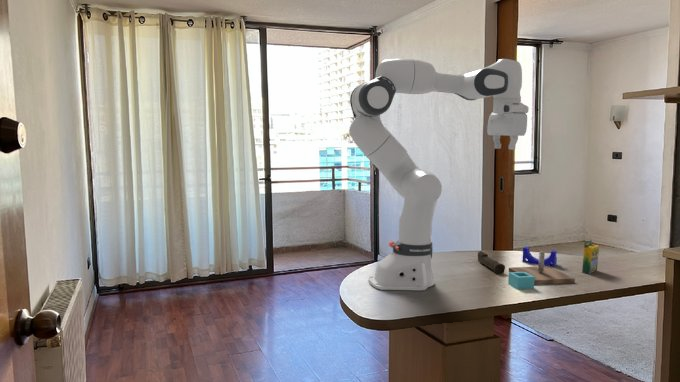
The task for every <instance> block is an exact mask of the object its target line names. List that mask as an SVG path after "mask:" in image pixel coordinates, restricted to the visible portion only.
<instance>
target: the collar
mask: <svg viewBox="0 0 680 382" xmlns="http://www.w3.org/2000/svg"><path fill="white" fill-rule="evenodd" d="M534 280H535V277H534V276H532V275H530V274H528V273H526V272H509V271H508V280H507V284H508V285H510V286H511V287H513V288H515V289H516V290H527V289H529V290H530V289H531V290H532V289H533V290H534V289H535V284H534Z"/></svg>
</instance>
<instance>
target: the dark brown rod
mask: <svg viewBox="0 0 680 382" xmlns="http://www.w3.org/2000/svg"><path fill="white" fill-rule="evenodd" d="M477 261H478V263H479V262H480V263H479V264H480V265H482V264H484V266H486V267H487V268H489V269H490V270H492V271H493V272H494V273H495V274H496V275H500V274H501V275H502V274H504V273H505V269H506V266H505V264H503V263H499V261H497V260H494V259H492V258H491V257H489V255H488V253H486V252H484V251H478V253H477Z"/></svg>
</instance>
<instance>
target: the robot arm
mask: <svg viewBox="0 0 680 382" xmlns="http://www.w3.org/2000/svg"><path fill="white" fill-rule="evenodd" d="M522 84H523V70H522V65H521V63H520V62H519V61H518V60H515V59H512V58H500V59H497V61H496V62H494V63H493V64H491V65H487V66H486V67H483V68H480V69H476V70H473V71H467V72H464V73H462V74H458V75H457V74H451V73H450V74H448V73H442V72H437V71H436V69H435V67H434V66H433V64H432V63H431V62H429V61H424V60H419V59H412V58H411V59H410V58H389V59H384V60H382V61H380V62H379V64H378V65H377V67H376V70H375V76H374V79H371V80H369V81H366V82H365V81H364V82H363V83H361V84H358V86H356V87H355V88H354V89H353V90H352V92H351V93H350V98H349V103H350V108H351V110H352V111H351V112H352V114H353V115H352V116H353V118H354V120H353V121H352V122H351V124H350V126H349V130H348V132H349V136H350V137H351V139H352V141H353V142H354V144H355V145H356V146H357V147H358V149H359V150H360V151H361V153H363V155H364V156H365V157H366V158H367V159H368V160H369V161H370V162H371V163H372V164H373V165H374V166H375V168H376V169H378V171H380V172H381V174H382V175H383V176H384V178H385V179H386V180H387V181H388V183H389V184H390V185H391V186H392V188H393V189H394V190H395V191H396V192H397V193H398V194H399V195H400V196H401V197H402V198H403V199H404V203H403V207H402V212H401V214H400V216H399V218H398V219H399V220H398V222H399V223H398V240H397V241H396V242H394V241H393V240H389V242H388V247H390V248H392V252H391V253H389V254H388V255H386V257H384V258H383V259H381V260H380V261H378V262H377V265H376V267H375V271H374V272H375V274H370V275H369V277H368V283H369V284H370V285H371V287H373V288H375V289H377V290H381V291H382V290H383V291H426V290H427V289H428V288H430V287H433V286H434V285H435V278H434V274H433V266H432V258H433V252H434V249H433V242H432V231H433V230H432V229H433V219H434V214H435V210H436V205H437V202H438V199H439V198H440V197H441V194H442V192H443V190H442V186H443V185H442V182H441V181H440V179H439V178H438V177H437V176H436V175H435V174H434V173H433V172H431V171H428V170H424V169H421V168H420V167H419V166H417V165H416V163H415V162H414V161H413V159H412V158H411V156H410V154H409V153H408V150H407V149H406V148H405V147H404V146H403V144H401V142H399V140H398V139H397V138H396V137H395V136H394V135H393V134H392V133H391V132H390V131H389V130H388V128H387V127H385V126H384V124H383V122H382V120H381V115H383V114H384V113H386V112H387V111H388V110H389V109H390V106H392V103H393V101H394V97H395V95H396V94H404V95H405V94H406V95H423V94H429V93H432V92H436V93H437V92H438V93H444V94H445V93H446V94H454V95H457V96H458V97H460V98H462V99H464V100H466V101H476V100H479V99H484V98H489V97H493V103H492V104H493V105H492V106H493V107H492V112H491V113H490V114H489V116H488V117H489V118H488V122H487V128H486V131H487V135H488V136H492V140H493V143H494V149H495V150H496V149H498V150H499V149H502V143H501V136H509V139H510V141H509V144H508V148H507V149H508V150H512V151H513V150H516V144H517V143H518V140H519V136H520V137H521V136H522V137H523V136H525V135H526V132H527V127H528V115H527V114H528V113H529V106H528V105H526V104H525V103H523V102H522V97H521V89H522Z"/></svg>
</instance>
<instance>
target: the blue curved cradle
mask: <svg viewBox="0 0 680 382" xmlns="http://www.w3.org/2000/svg"><path fill="white" fill-rule="evenodd" d="M557 261H558V257H557V250H555V249H554V250H551V251H550V255H549V256H548V257H546V258H544V266H548V267H551V268H552V267H553V268H554V267H555V266H557ZM522 263H527V264H533V265H539V258H536V257H535V256H533V255H532V254H531V251H530V247H529V246H524V247H523V248H522Z"/></svg>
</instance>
